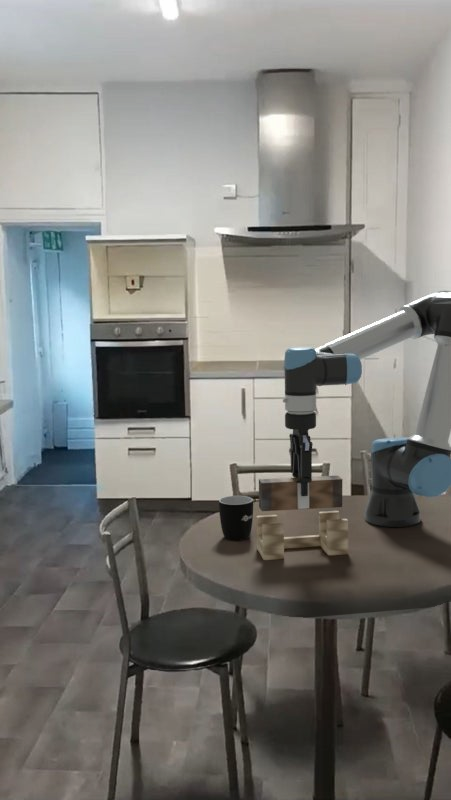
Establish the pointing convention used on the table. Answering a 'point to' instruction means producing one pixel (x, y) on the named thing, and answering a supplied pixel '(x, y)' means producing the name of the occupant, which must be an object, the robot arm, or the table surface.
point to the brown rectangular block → (285, 493)
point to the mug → (236, 517)
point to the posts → (329, 537)
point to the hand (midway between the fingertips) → (301, 505)
